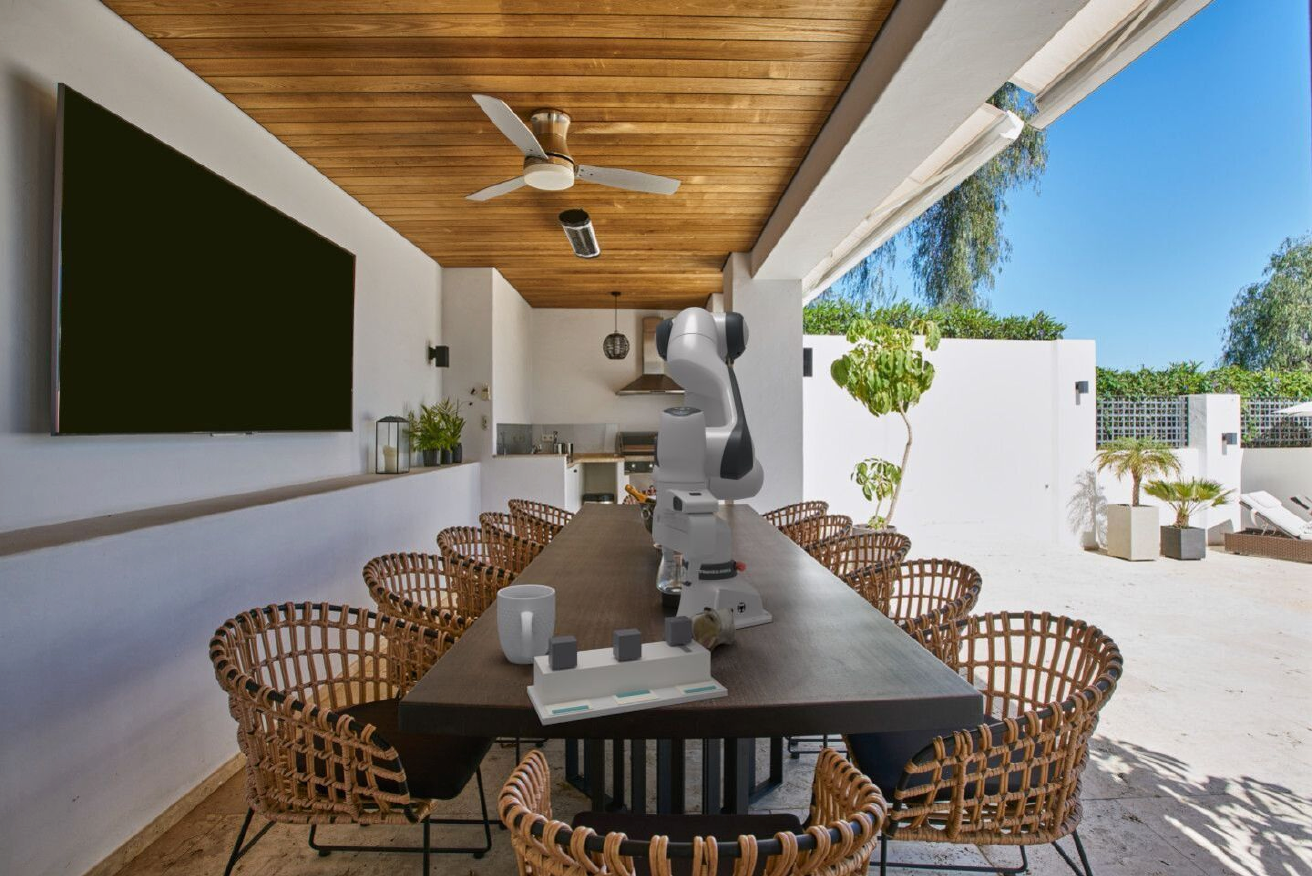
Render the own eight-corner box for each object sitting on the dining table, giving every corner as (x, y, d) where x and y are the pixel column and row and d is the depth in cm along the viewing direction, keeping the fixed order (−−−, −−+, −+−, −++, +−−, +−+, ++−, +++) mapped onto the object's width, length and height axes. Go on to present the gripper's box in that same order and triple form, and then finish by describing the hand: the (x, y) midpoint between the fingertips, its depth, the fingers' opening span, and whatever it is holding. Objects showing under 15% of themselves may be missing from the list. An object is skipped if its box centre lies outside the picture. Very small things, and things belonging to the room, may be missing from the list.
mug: (558, 674, 117) (559, 602, 117) (495, 679, 115) (496, 605, 114) (552, 647, 132) (553, 583, 131) (496, 651, 129) (497, 585, 129)
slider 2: (684, 637, 118) (685, 615, 118) (691, 642, 116) (691, 620, 116) (664, 640, 117) (664, 618, 117) (671, 645, 114) (671, 622, 114)
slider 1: (572, 659, 107) (572, 635, 107) (577, 665, 104) (577, 641, 104) (548, 662, 105) (548, 638, 105) (552, 669, 102) (552, 643, 102)
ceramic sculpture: (749, 604, 133) (697, 622, 123) (750, 646, 133) (699, 668, 123) (711, 594, 141) (659, 611, 131) (713, 634, 141) (661, 653, 131)
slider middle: (635, 651, 111) (635, 628, 111) (641, 657, 108) (641, 633, 108) (613, 654, 109) (613, 630, 109) (618, 660, 107) (618, 636, 106)
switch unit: (694, 668, 120) (695, 636, 120) (727, 695, 108) (727, 659, 108) (527, 692, 109) (527, 656, 109) (542, 725, 97) (543, 684, 97)
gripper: (644, 493, 124) (643, 566, 124) (688, 503, 105) (687, 589, 104) (674, 493, 126) (674, 564, 126) (723, 502, 107) (722, 587, 107)
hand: (680, 576), depth 115 cm, fingers open, 8 cm apart
